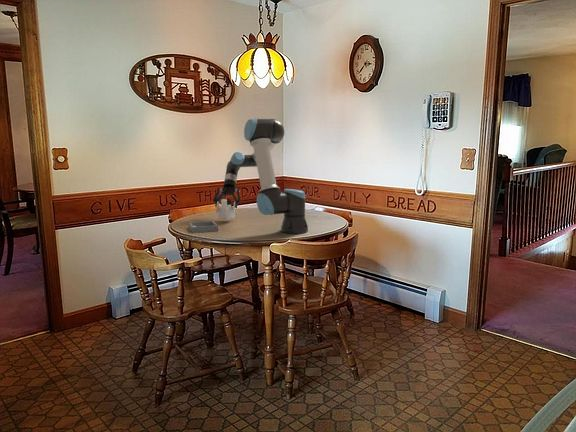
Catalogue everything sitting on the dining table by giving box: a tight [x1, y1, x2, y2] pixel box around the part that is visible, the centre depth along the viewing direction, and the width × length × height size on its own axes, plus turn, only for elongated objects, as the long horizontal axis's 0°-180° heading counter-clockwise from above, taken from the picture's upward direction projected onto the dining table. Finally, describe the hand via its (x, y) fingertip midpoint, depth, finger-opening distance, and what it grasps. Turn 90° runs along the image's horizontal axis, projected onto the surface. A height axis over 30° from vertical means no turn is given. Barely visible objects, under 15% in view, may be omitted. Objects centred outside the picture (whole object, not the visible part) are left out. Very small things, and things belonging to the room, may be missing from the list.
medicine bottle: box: [217, 198, 236, 221], centre depth 275 cm, size 7×7×12 cm
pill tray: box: [188, 220, 219, 234], centre depth 255 cm, size 14×14×3 cm
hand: (225, 211), depth 272 cm, fingers closed on medicine bottle, 10 cm apart
